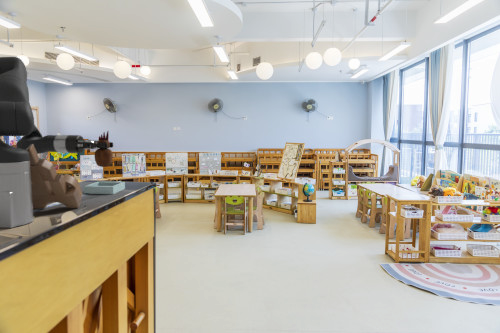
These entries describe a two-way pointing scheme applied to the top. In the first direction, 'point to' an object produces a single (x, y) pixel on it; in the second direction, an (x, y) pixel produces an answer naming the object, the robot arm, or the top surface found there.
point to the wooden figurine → (103, 153)
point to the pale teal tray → (104, 187)
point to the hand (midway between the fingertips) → (109, 145)
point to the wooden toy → (51, 184)
